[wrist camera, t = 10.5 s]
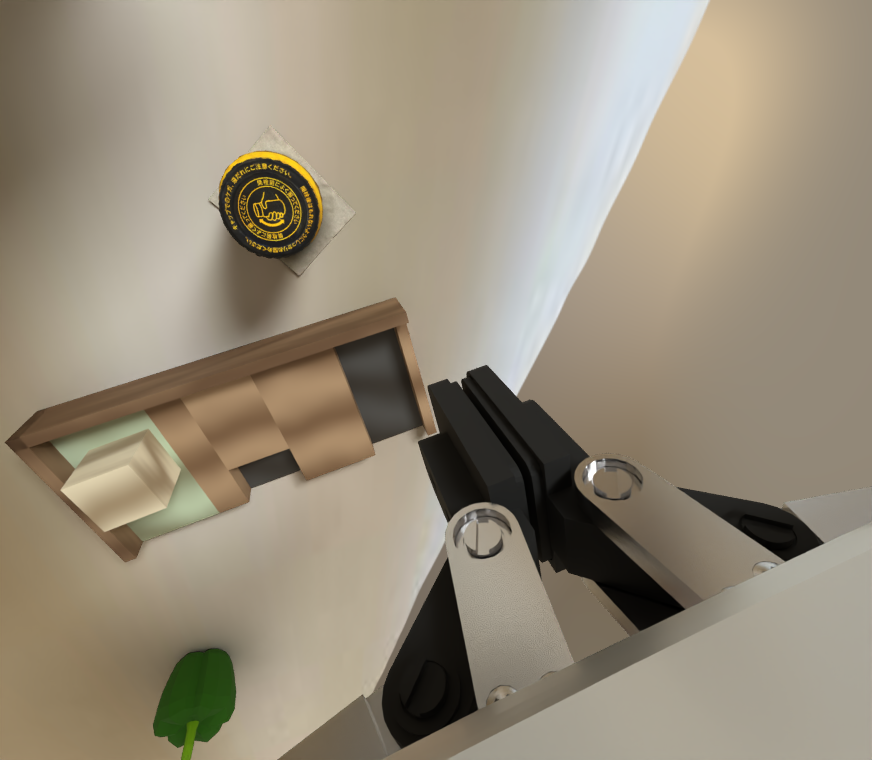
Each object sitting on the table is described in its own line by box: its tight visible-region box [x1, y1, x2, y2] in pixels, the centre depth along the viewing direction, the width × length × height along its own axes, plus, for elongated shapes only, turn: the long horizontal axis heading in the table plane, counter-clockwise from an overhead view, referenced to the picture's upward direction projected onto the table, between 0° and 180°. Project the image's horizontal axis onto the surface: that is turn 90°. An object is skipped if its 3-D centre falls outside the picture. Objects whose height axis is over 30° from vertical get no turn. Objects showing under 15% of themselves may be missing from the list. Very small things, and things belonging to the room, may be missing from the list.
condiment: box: [208, 125, 356, 276], centre depth 28 cm, size 7×8×12 cm
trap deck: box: [5, 298, 436, 562], centre depth 39 cm, size 15×32×4 cm, turn 103°
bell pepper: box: [153, 649, 236, 760], centre depth 50 cm, size 8×8×10 cm
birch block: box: [61, 429, 181, 532], centre depth 35 cm, size 5×5×5 cm
